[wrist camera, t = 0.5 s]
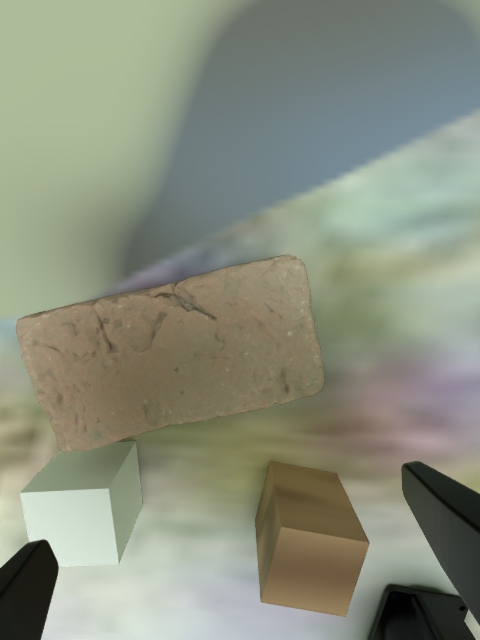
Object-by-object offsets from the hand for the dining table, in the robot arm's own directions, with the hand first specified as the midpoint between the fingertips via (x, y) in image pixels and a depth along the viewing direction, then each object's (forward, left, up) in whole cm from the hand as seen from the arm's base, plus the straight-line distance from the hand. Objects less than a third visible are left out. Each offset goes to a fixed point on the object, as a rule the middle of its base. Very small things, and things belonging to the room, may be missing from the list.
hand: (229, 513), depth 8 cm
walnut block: (-10, -7, -14) cm, 18 cm away
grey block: (-11, +7, -14) cm, 19 cm away
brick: (0, +3, -15) cm, 15 cm away
